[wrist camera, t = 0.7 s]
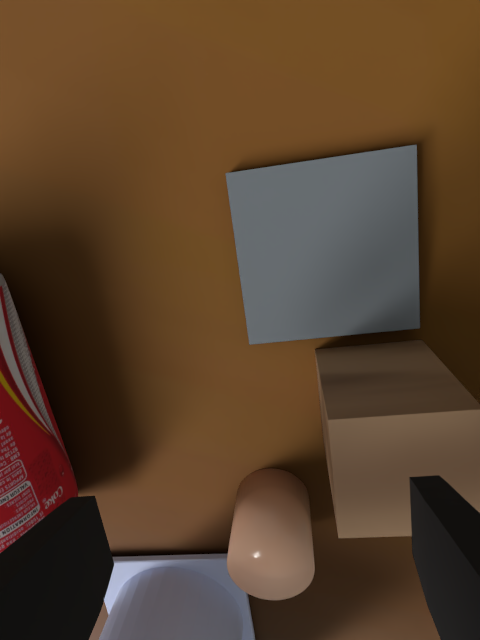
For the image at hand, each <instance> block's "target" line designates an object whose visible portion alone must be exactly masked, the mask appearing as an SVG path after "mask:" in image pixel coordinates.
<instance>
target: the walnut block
mask: <svg viewBox="0 0 480 640" xmlns="http://www.w3.org/2000/svg"><path fill="white" fill-rule="evenodd" d="M315 356H316V367H317V378H318V388H319V399H320V410H321V421H322V431H323V441H324V447H325V454H326V460H327V467H328V473H329V480H330V486H331V493H332V499H333V506H334V512H335V519H336V525H337V532H338V538H365V537H396V536H412V528H411V504H410V480H409V477H419V476H435V475H439V476H441V477H442V478H443V479H444V480H445V481H446V482H447V483H449V484H450V485H451V486H452V487H453V488H454V489H455V490H456V491H457V492H458V493H459V494H460V495H461V496H462V497H463V498H464V499H465V500H466V501H468V502H469V503H470V504H471V505H472V506H473V507H474V508H475V509H476V510H477V511H478V512H479V513H480V404H479V403H478V402H477V401H476V399H475V398H474V397H473V396H472V395H471V394H470V393H469V392H468V391H467V389H466V388H465V387H464V386H463V385H462V384H461V383H460V382H459V380H458V379H457V378H456V377H455V376H454V375H453V374H452V373H451V372H450V370H449V369H448V368H447V367H446V366H445V365H444V364H443V363H442V361H441V360H440V359H439V358H438V357H437V356H436V355H435V354H434V353H433V351H432V350H431V349H430V348H429V347H428V346H427V345H426V344H425V343H424V341H423V340H412V341H401V342H390V343H379V344H368V345H357V346H346V347H335V348H324V349H315Z"/></svg>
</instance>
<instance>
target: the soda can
mask: <svg viewBox="0 0 480 640" xmlns="http://www.w3.org/2000/svg"><path fill="white" fill-rule="evenodd" d="M71 497H78V487H77V482H76V479H75V476H74V472H73V469H72V466H71V463H70V461H69V458H68V455H67V452H66V449H65V446H64V443H63V440H62V438H61V435H60V432H59V429H58V426H57V423H56V421H55V418H54V415H53V412H52V409H51V407H50V404H49V401H48V398H47V395H46V392H45V390H44V387H43V384H42V381H41V378H40V376H39V373H38V370H37V367H36V364H35V362H34V359H33V356H32V353H31V350H30V348H29V345H28V342H27V339H26V336H25V334H24V331H23V328H22V325H21V322H20V320H19V317H18V314H17V311H16V308H15V306H14V303H13V300H12V297H11V295H10V292H9V289H8V287H7V284H6V281H5V279H4V277H3V275H2V274H1V273H0V553H1V552H2V551H4V550H5V549H6V548H7V547H9V546H10V545H11V544H12V543H14V542H15V541H16V540H17V539H18V538H20V537H21V536H22V535H23V534H25V533H26V532H27V531H28V530H30V529H31V528H32V527H33V526H34V525H36V524H37V523H38V522H39V521H41V520H42V519H43V518H44V517H46V516H47V515H48V514H49V513H51V512H52V511H53V510H54V509H56V508H57V507H58V506H60V505H61V504H62V503H64V502H65V501H66V500H68V499H69V498H71Z"/></svg>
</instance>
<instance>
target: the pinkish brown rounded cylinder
mask: <svg viewBox="0 0 480 640" xmlns="http://www.w3.org/2000/svg"><path fill="white" fill-rule="evenodd" d="M227 569H228V573H229V575H230V577H231V579H232V580H233V582H234V583H235V584H236V585H237V586H238V587H239V588H240V589H241V590H243V591H244V592H246V593H248V594H250V595H252V596H254V597H257V598H260V599H265V600H283V599H288V598H291V597H294V596H296V595H298V594H300V593H301V592H303V591H304V590H305V589H306V588H307V587H308V586H309V585H310V583H311V581H312V579H313V577H314V572H315V564H314V552H313V540H312V527H311V515H310V503H309V495H308V491H307V489H306V487H305V485H304V484H303V482H302V481H301V480H300V479H299V478H297V477H296V476H295V475H293V474H291V473H289V472H287V471H284V470H281V469H274V468H267V469H261V470H258V471H255V472H253V473H251V474H249V475H248V476H247V477H246V478H244V480H243V481H242V482H241V484H240V485H239V488H238V491H237V496H236V503H235V509H234V516H233V523H232V529H231V536H230V543H229V549H228V556H227Z"/></svg>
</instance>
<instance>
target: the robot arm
mask: <svg viewBox="0 0 480 640" xmlns="http://www.w3.org/2000/svg"><path fill="white" fill-rule="evenodd" d="M409 480H410V504H411V528H412V552H413V557H414V560H415V564H416V567H417V571H418V575H419V578H420V582H421V585H422V588H423V592H424V595H425V599H426V602H427V605H428V608H429V610H430V613H431V615H432V618H433V621H434V623H435V626H436V628H437V631H438V633H439V636H440V638H441V640H480V513H479V512H478V511H477V510H476V509H475V508H474V507H473V506H472V505H471V504H470V503H469V502H468V501H466V500H465V499H464V498H463V497H462V496H461V495H460V494H459V493H458V492H457V491H456V490H455V489H454V488H453V487H452V486H451V485H450V484H449V483H447V482H446V481H445V480H444V479H443V478H442V477H441V476H439V475H435V476H419V477H409ZM227 556H228V553H226V554H193V555H159V556H126V557H112V554H111V551H110V547H109V544H108V540H107V537H106V533H105V530H104V526H103V523H102V520H101V516H100V513H99V509H98V506H97V502H96V499H95V496H84V497H71V498H69V499H68V500H66V501H65V502H64V503H62V504H61V505H60V506H58V507H57V508H56V509H54V510H53V511H52V512H51V513H49V514H48V515H47V516H46V517H44V518H43V519H42V520H41V521H39V522H38V523H37V524H36V525H34V526H33V527H32V528H31V529H30V530H28V531H27V532H26V533H25V534H23V535H22V536H21V537H20V538H18V539H17V540H16V541H15V542H14V543H12V544H11V545H10V546H9V547H7V548H6V549H5V550H4V551H2V552H1V553H0V640H89V637H90V635H91V633H92V630H93V628H94V626H95V623H96V621H97V618H98V616H99V613H100V611H101V608H102V605H103V601H105V604H106V608H107V611H108V615H109V616H108V618H107V621H106V623H105V626H104V628H103V631H102V633H101V636H100V638H99V640H255V634H254V628H253V622H252V616H251V611H250V605H249V599H248V593H246V592H244V591H243V590H241V589H240V588H239V587H238V586H237V585H236V584H235V583H234V582H233V580H232V579H231V577H230V575H229V573H228V569H227Z"/></svg>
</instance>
